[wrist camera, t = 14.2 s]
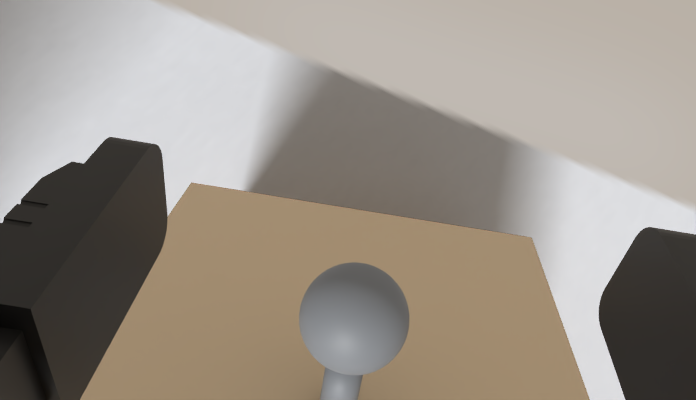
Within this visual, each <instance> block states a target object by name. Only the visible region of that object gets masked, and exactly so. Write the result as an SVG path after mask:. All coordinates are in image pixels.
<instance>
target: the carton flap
mask: <svg viewBox="0 0 696 400" xmlns="http://www.w3.org/2000/svg"><path fill="white" fill-rule="evenodd" d="M80 400H590V399H589V396H588V394H587V391H586V388H585V385H584V382H583V380H582V377H581V374H580V371H579V369H578V366H577V363H576V360H575V357H574V355H573V352H572V349H571V346H570V343H569V341H568V338H567V335H566V332H565V329H564V327H563V324H562V321H561V318H560V316H559V313H558V310H557V307H556V304H555V302H554V299H553V296H552V293H551V290H550V288H549V285H548V282H547V279H546V277H545V274H544V271H543V268H542V265H541V263H540V260H539V257H538V254H537V251H536V249H535V246H534V243H533V240H532V238H531V237H525V236H518V235H512V234H506V233H500V232H494V231H488V230H481V229H475V228H469V227H463V226H457V225H450V224H444V223H438V222H432V221H426V220H420V219H413V218H407V217H401V216H395V215H389V214H382V213H376V212H370V211H364V210H358V209H351V208H345V207H339V206H333V205H327V204H321V203H314V202H308V201H302V200H296V199H290V198H283V197H277V196H271V195H265V194H259V193H252V192H246V191H240V190H234V189H228V188H222V187H215V186H209V185H203V184H197V183H191V184H190V185H189V187H188V188H187V190H186V191H185V193H184V194H183V195H182V197H181V198H180V200H179V201H178V203H177V204H176V206H175V207H174V208H173V210H172V211H171V213H170V214H169V216H168V217H167V231H166V236H165V240H164V244H163V247H162V249H161V252H160V254H159V256H158V257H157V259H156V261H155V263H154V265H153V267H152V268H151V270H150V272H149V274H148V276H147V278H146V279H145V281H144V283H143V285H142V287H141V289H140V291H139V292H138V294H137V296H136V298H135V300H134V302H133V303H132V305H131V307H130V309H129V311H128V313H127V314H126V316H125V318H124V320H123V322H122V324H121V325H120V327H119V329H118V331H117V333H116V335H115V336H114V338H113V340H112V342H111V344H110V346H109V347H108V349H107V351H106V353H105V355H104V357H103V358H102V360H101V362H100V364H99V366H98V368H97V369H96V371H95V373H94V375H93V377H92V379H91V380H90V382H89V384H88V386H87V388H86V390H85V391H84V393H83V395H82V397H81V399H80Z"/></svg>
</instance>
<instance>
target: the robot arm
mask: <svg viewBox="0 0 696 400" xmlns="http://www.w3.org/2000/svg"><path fill="white" fill-rule="evenodd" d="M166 231H167V206H166V195H165V183H164V172H163V160H162V153H161V150H160V148H159V146H158V145H156V144H150V143H144V142H138V141H132V140H126V139H120V138H114V137H109V138H107V139H106V140H105V141H104V142H103V143H102V144H101V145H100V146H99V147H98V148H97V150H96V151H95V152H94V153H93V154H92V155H91V156H90V158H89V159H88V160H87V161H86V162H85V163H84V164H82V163H76V162H71V163H69V164H67V165H65V166H63V167H61V168H60V169H58V170H56V171H54V172H52V173H50V174H48V175H46V176H45V177H43V178H41V179H40V180H39V181H38V182H37V183H36V185H35V186H34V187H33V188H32V189H31V190H30V191H29V192H28V193H27V194H26V195H25V196H24V197H23V198H22V199H21V204H17V205H16V206H15V207H14V208H13V209H12V210H11V211H10V212H9V213H8V214H7V215H6V216H5V217H4V221H3V223H0V400H80V399H81V397H82V395H83V393H84V391H85V390H86V388H87V386H88V384H89V382H90V380H91V379H92V377H93V375H94V373H95V371H96V369H97V368H98V366H99V364H100V362H101V360H102V358H103V357H104V355H105V353H106V351H107V349H108V347H109V346H110V344H111V342H112V340H113V338H114V336H115V335H116V333H117V331H118V329H119V327H120V325H121V324H122V322H123V320H124V318H125V316H126V314H127V313H128V311H129V309H130V307H131V305H132V303H133V302H134V300H135V298H136V296H137V294H138V292H139V291H140V289H141V287H142V285H143V283H144V281H145V279H146V278H147V276H148V274H149V272H150V270H151V268H152V267H153V265H154V263H155V261H156V259H157V257H158V256H159V254H160V252H161V249H162V247H163V244H164V240H165V236H166ZM599 322H600V326H601V330H602V333H603V336H604V338H605V341H606V344H607V347H608V350H609V353H610V356H611V359H612V362H613V365H614V367H615V370H616V373H617V376H618V379H619V382H620V385H621V388H622V391H623V394H624V397H625V399H626V400H696V235H694V234H688V233H682V232H676V231H670V230H664V229H658V228H652V227H648V228H645V229H643V230H642V231H640V233H639V234H638V235H637V236H636V238H635V239H634V241H633V243H632V244H631V246H630V248H629V249H628V251H627V253H626V254H625V256H624V258H623V259H622V261H621V263H620V264H619V266H618V268H617V269H616V271H615V273H614V274H613V276H612V278H611V279H610V281H609V283H608V284H607V286H606V288H605V290H604V292H603V294H602V297H601V300H600V305H599Z"/></svg>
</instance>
